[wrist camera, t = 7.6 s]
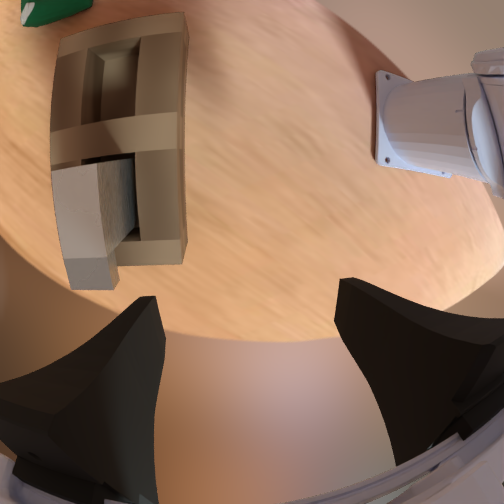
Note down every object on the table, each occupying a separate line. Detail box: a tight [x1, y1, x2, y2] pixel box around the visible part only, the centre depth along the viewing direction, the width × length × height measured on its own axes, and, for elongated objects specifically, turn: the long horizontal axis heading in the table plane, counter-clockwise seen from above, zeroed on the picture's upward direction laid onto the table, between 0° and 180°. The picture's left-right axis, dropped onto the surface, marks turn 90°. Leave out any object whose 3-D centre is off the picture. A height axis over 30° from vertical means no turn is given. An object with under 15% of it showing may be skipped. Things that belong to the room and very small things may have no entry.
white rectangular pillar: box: [51, 158, 139, 290], centre depth 13 cm, size 2×6×7 cm, turn 178°
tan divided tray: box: [50, 12, 189, 266], centre depth 14 cm, size 8×15×4 cm, turn 178°
